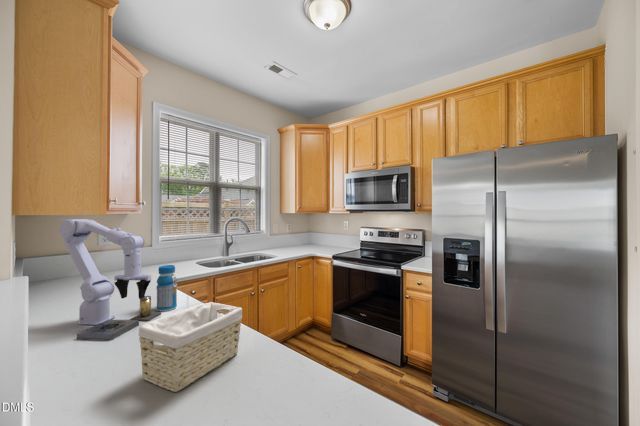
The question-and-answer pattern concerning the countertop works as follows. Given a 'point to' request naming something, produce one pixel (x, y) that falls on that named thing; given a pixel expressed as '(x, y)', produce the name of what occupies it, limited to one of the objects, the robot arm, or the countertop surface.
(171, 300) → the blue bottle
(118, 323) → the housing
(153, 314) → the mat
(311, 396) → the countertop surface
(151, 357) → the storage basket
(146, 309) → the cylindrical knob
